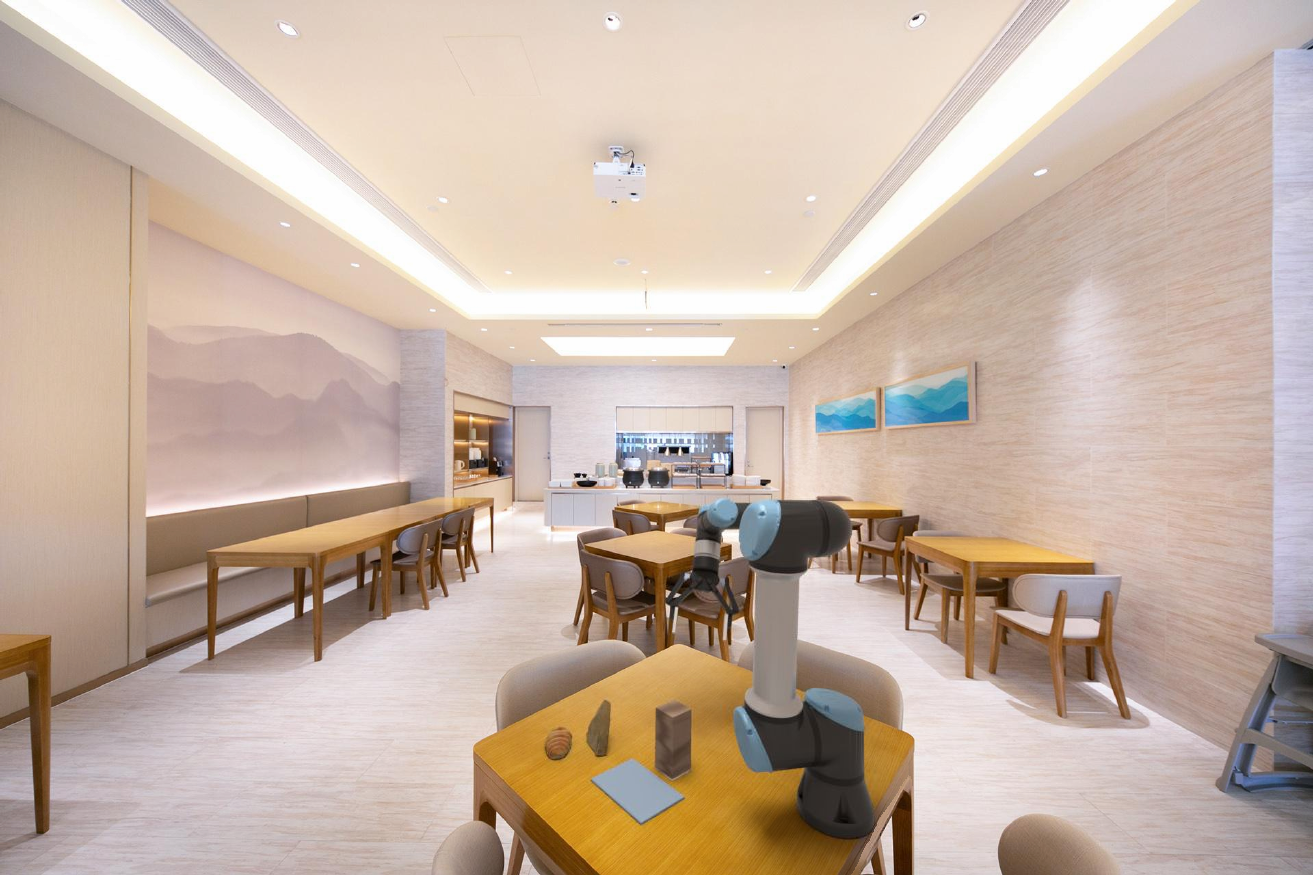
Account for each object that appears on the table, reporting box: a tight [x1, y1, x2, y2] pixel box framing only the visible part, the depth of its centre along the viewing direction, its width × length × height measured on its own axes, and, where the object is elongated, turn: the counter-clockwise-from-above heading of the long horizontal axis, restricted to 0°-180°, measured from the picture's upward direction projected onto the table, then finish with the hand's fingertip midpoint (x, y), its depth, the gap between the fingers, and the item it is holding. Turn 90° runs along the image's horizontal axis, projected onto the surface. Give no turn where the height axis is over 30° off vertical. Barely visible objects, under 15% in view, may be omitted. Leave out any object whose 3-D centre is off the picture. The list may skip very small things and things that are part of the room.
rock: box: [585, 699, 612, 756], centre depth 126 cm, size 11×9×10 cm
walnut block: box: [654, 699, 692, 782], centre depth 116 cm, size 6×6×14 cm
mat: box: [590, 758, 685, 826], centre depth 109 cm, size 18×12×1 cm, turn 41°
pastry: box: [544, 725, 573, 760], centre depth 124 cm, size 9×7×4 cm
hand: (698, 636), depth 132 cm, fingers open, 13 cm apart
